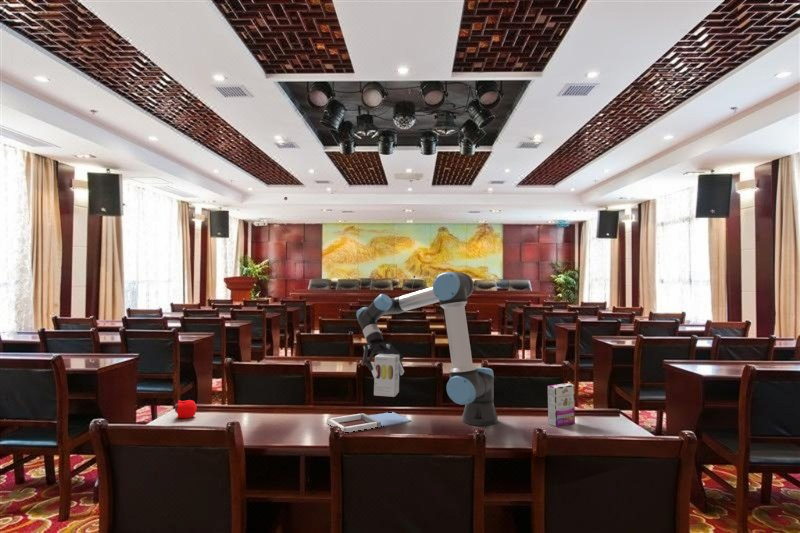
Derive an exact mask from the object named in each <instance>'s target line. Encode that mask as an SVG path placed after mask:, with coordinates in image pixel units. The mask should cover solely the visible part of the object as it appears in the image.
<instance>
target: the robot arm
mask: <svg viewBox="0 0 800 533" xmlns="http://www.w3.org/2000/svg"><path fill="white" fill-rule="evenodd" d="M474 288H475V283H474V281H473V278H472V277H471V276H470V275H469V274H467V273H464V272H454V271H447V272H442V273H440V274H438V275H437V276H436V278H435V279H434V280H433V283H432V286H431V287H427V288H424V289H420V290H417V291H414V292H410V293H407V294H403V295H401V296H396V297H392V298H390V296H388V294H385V293H380V294H379V295H378V296H377V297H376V298H374V299H373V301H372V302H371V303H370V305H369V306H364V307H361V308H360V309H357V311H356V318H357V322H358V324H359V326H360V328H361V331H362V334H363V336H364V338H365V340H366V343H364V345H363V346H362V349H363V353H362V354H363V356H362V363H361V364H362V365H365V366H366V367H368V370H369V371H370V372H371V374H372V376H373V379H374V378H376V377H377V375H378V373H377V371H376V368H375V362H374V361H373V358H374V357H375V356H374V355H375V354H376V355H378V354H395V355H397V354H398V355H399V376H403V375H404V373H405V370H404V365H403V363H402V361H403V359H404V355H402V354H401V353H400V352H399V351H398V350H397V348H395V347H394V346H393V344H392V342H390V341H389V342H388V343H385V341H384V337H383V335H382V333H381V330H380V328H379V326H378V323H377V321H378V320H380V318H381V317H382V316H384V315H399V314H402V313H404V312H407V311H410V310H414V309H418V308H421V307H425V306H429V305H433V304H436V303H439V307H441V308H442V309H443V310H444V317H445V318H444V319H445V325H446V334H447V339H448V346H449V354H450V361H451V368H450V369H449V371H448V372H449V380H448V381H447V383H446V393H447V396H448V397H449V399H450V400H452V401H453V403H455V404H458V405H464V409H463V413H462V415H461V416H462V417H461V419H462V422H463V423H465V424H468V425H472V426H481V427H483V426H485V427H488V426H492V425H496V424H498V422H499V421H498V420H499V419H498V414H497V411H496V407H495V404H494V388H495V386H494V382H495V381H494V379H495V376H494V370H493V369H492V368H489V367H481V366H475V365H474V364H473V358H472V349H471V344H470V336H469V330H468V322H467V315H466V309H465V307H466V305H467V304H468V297H470V296H471V295H472V294H473V292H474ZM369 350H370V351H371V353H370V355H369V358H368V353H369Z"/></svg>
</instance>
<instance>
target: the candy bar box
mask: <svg viewBox="0 0 800 533" xmlns="http://www.w3.org/2000/svg"><path fill="white" fill-rule="evenodd" d="M575 408H576V407H575V385H574V384H571V383H567V382H566V383H559V384H551V385H547V413H548V414H547V416H548V418H547V420H548V423H547V424H548V425H550V426H551V427H552V426H553V427H556V428H559V427H564V426H568V425H569V426H570V425H574V424H576V414H575V413H576V409H575Z"/></svg>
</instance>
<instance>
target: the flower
mask: <svg viewBox="0 0 800 533" xmlns="http://www.w3.org/2000/svg"><path fill="white" fill-rule="evenodd" d="M177 404H178V405H177V408H176V409H177V410H176V414H177V417H176V419H181V418H182V419H190V418H192V417H193V418H194V416H195V415H196V412H197V410H198V407H197V404H196V402H195V401H194V400H193V399H192V400H191V399H188V400H180V399H179V400H178V402H177Z"/></svg>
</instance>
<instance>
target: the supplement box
mask: <svg viewBox="0 0 800 533" xmlns="http://www.w3.org/2000/svg"><path fill="white" fill-rule="evenodd" d="M374 366H375V368H376V371H377V373H378V375H377V377H376V378H374V377H373V382H374V384H373V396H377V397H378V396H379V397H392V398H394V397H396V396H397V395H398V393H400V373H399V355H398V354H397V355H395V354H383V353H382V354H376V355H375V356H374Z"/></svg>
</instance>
